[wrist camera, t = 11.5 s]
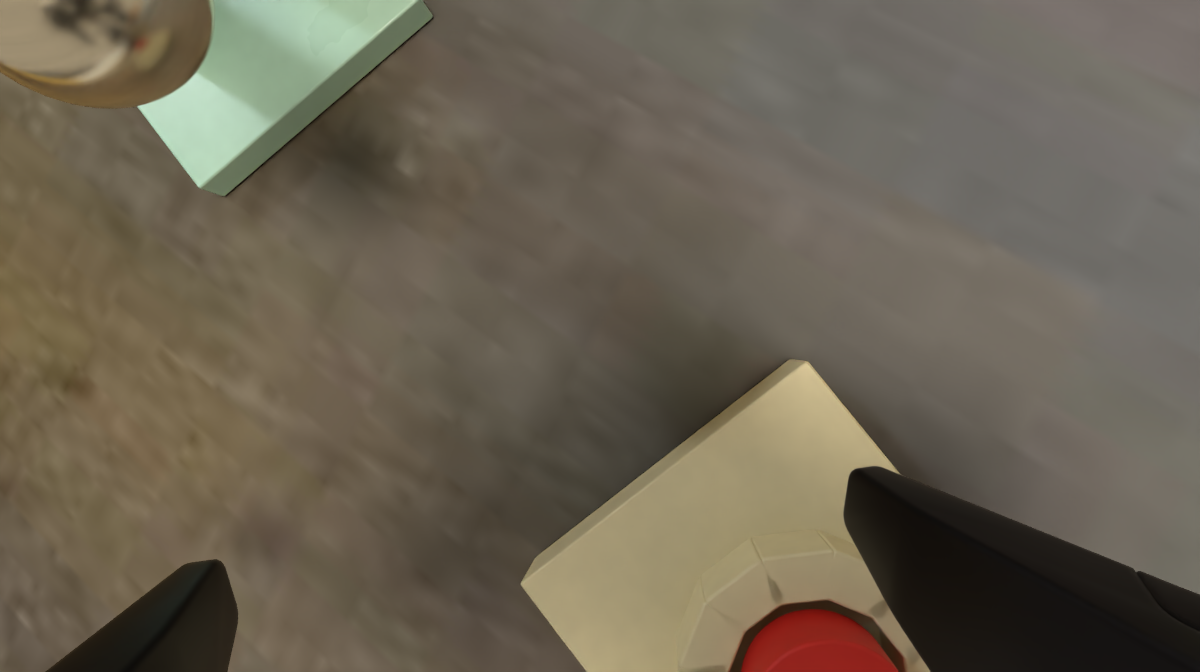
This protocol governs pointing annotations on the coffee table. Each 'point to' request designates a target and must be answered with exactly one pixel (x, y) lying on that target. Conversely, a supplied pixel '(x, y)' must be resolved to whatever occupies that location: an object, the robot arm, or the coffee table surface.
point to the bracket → (273, 78)
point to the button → (815, 645)
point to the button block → (722, 541)
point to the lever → (104, 48)
